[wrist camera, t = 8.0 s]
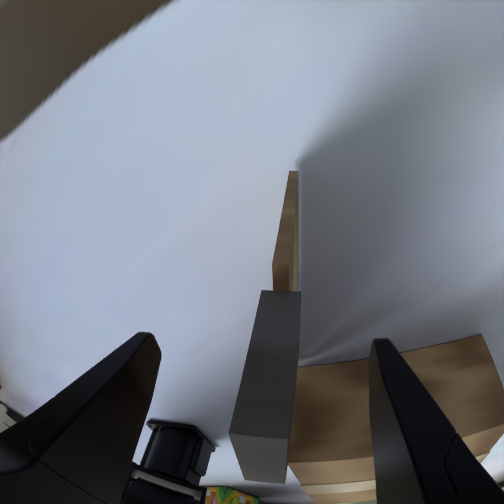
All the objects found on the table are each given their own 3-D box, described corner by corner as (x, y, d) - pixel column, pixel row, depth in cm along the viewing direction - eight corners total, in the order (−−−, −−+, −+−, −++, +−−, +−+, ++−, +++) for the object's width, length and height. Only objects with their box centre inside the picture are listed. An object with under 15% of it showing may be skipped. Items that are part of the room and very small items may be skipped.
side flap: (299, 366, 21) (281, 526, 11) (285, 366, 21) (262, 525, 11) (304, 171, 14) (288, 417, 4) (282, 171, 14) (221, 411, 4)
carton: (320, 439, 27) (315, 505, 21) (296, 367, 21) (285, 464, 15) (452, 418, 23) (462, 481, 17) (482, 333, 17) (514, 421, 11)
